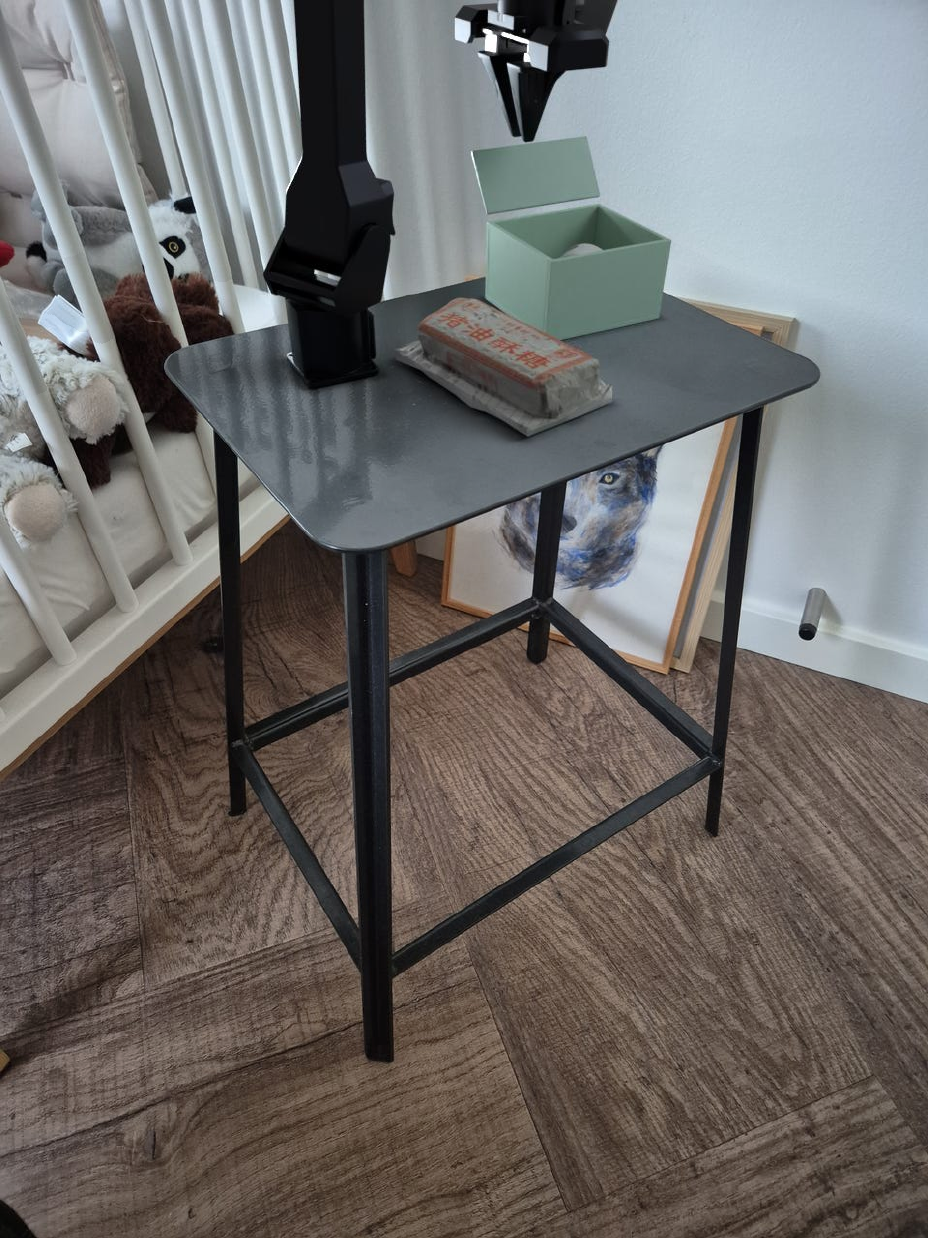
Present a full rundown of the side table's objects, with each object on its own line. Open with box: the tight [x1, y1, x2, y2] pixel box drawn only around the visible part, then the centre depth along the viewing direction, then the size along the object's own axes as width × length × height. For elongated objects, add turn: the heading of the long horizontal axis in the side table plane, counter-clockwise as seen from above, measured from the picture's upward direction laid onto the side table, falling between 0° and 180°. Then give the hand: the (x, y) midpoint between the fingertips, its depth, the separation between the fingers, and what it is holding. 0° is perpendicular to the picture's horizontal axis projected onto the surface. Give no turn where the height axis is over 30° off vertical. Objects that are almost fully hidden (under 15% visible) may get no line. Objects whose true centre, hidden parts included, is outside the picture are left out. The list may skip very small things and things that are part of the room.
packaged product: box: [393, 297, 613, 438], centre depth 75 cm, size 18×5×10 cm
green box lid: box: [470, 135, 601, 216], centre depth 87 cm, size 13×6×1 cm
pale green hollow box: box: [484, 203, 672, 341], centre depth 86 cm, size 13×12×8 cm
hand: (522, 138), depth 87 cm, fingers closed
